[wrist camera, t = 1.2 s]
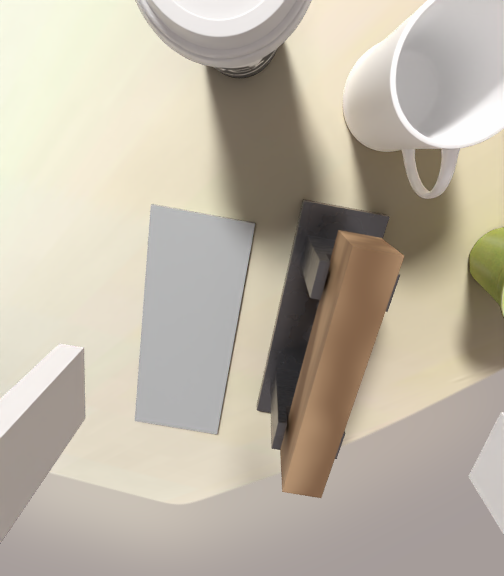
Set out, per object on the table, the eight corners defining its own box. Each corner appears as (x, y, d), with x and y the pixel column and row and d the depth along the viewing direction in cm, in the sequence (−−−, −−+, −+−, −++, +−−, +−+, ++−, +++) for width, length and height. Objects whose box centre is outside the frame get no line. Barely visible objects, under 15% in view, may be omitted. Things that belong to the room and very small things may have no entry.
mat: (135, 418, 44) (134, 420, 44) (152, 204, 35) (151, 204, 34) (217, 431, 44) (216, 434, 44) (255, 222, 35) (255, 223, 35)
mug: (435, 185, 33) (522, 204, 22) (341, 192, 34) (379, 214, 22) (450, 33, 29) (567, -39, 18) (342, 43, 29) (390, -20, 18)
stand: (256, 404, 43) (254, 470, 34) (303, 199, 34) (316, 217, 25) (323, 415, 43) (338, 484, 34) (386, 214, 34) (427, 237, 25)
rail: (280, 447, 36) (282, 491, 31) (338, 229, 28) (352, 246, 23) (313, 452, 36) (321, 497, 31) (381, 237, 28) (404, 255, 23)
